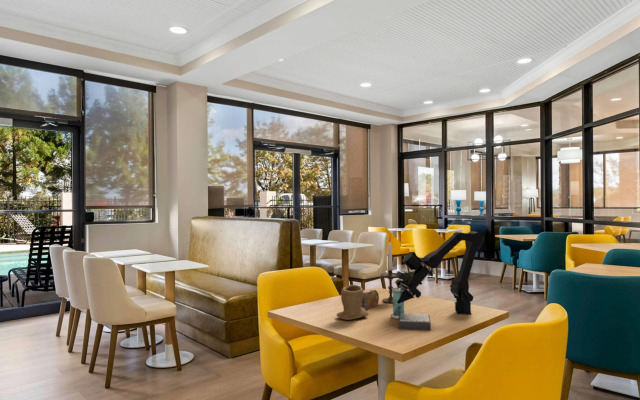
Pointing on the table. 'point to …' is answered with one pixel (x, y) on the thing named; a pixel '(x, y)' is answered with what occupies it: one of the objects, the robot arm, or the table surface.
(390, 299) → the candlestick
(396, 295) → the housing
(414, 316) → the stand
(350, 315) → the stone cup
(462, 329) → the table surface
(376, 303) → the tin
